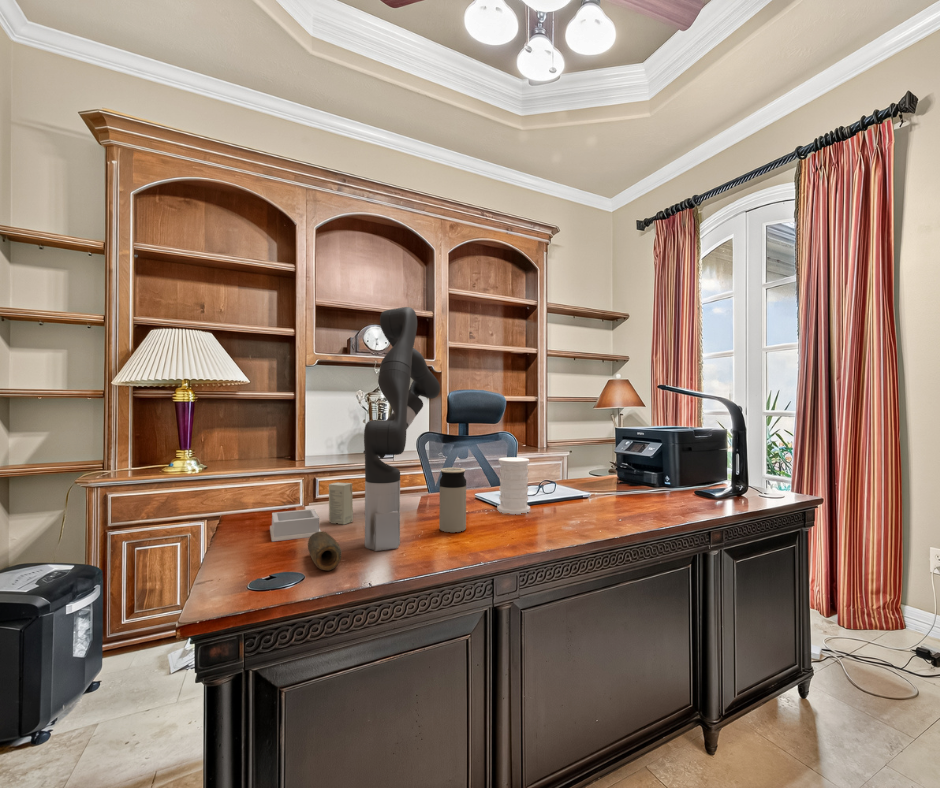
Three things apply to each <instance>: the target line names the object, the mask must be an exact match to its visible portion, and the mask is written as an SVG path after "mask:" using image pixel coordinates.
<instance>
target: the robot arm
mask: <svg viewBox="0 0 940 788" xmlns="http://www.w3.org/2000/svg"><path fill="white" fill-rule="evenodd" d="M379 325H380V328H381V331H382V333H383V335H384V337H385V339H386V340H387V342H388V343H389V344H390V346H391V347H392V348H390V350H389V351H388V352H387V353H386V354H385V356H384V357H383V358H382V360H381V363H380V366H379V371H378V372H379V373H378V379H377V384H378V387H379V389H380V392H381V393H382V394H383V397H384V398H385V399H386V400H387V402H388V404H389V406H390V408H391V410H392V412H391V414H390V415H389V417H388V418H387V419H386V420H382V419H381V420H378V419H377V420H376V419H375V420H374V419H373V420H372V419H371V420H368V421H367V422H366V423H365V426H364V429H363V430H364V431H363V444H364V447H363V448H364V450H363V454H364V474H365V475H364V547H365V548H366V549H367V550H373V551H375V552H379V551H387V550H394V549H399V546H400V545H401V544H400V543H401V542H400V541H401V536H400V535H401V471H400V469H399V468H397V467H395V466H392V465H390V464H387V463H386V462H385V461H383V460H381V459H384V458H385V457H386V456H397V455H402V454H403V452H404V451H405V449H406V443H407V430H408V429H409V427H410V426H411V425H412V423H413V422H414V420H415V418H416V417H417V415H418V414H419V413H420V412H421V410H422V408H423V407H424V401H423V400H422V399H421V398H420V397H424V398H426V399H430V400H431V399H435V398H437V397H438V396H439V395H440V391H441V385H440V382H439V380H438V378H437V377H436V376H435V375H434V374H433V373H432V371H430V369H429V366H428V364H427V362H426V360H425V358H424V356H423V355H422V353H421V352H419V351H418V350H417V349H416V348H414V345H415V342H416V341H415V340H416V337H417V330H418V318H417V313H416V311H415V310H414V308H412V307H409V306H404V307H398V308H393V309H387V310H384V311H381V313H380V316H379ZM411 380H412V383H411Z"/></svg>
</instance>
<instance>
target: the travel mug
mask: <svg viewBox="0 0 940 788" xmlns="http://www.w3.org/2000/svg"><path fill="white" fill-rule="evenodd" d="M440 472H441V477H440V479H439V514H438V515H439V517H438V518H439V522H438V523H439V525H438V528H439V530H440V531H442V532H443V531H444V532H443V533H448V532H450V533H451V534H453V533H455V532H457V533H461V531H462V532H464V531H465V530H466V529H467V479H466V477H465V472H466V469H465V468H461V467H443V468H441V469H440ZM450 533H449V534H450ZM455 534H456V533H455Z"/></svg>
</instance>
